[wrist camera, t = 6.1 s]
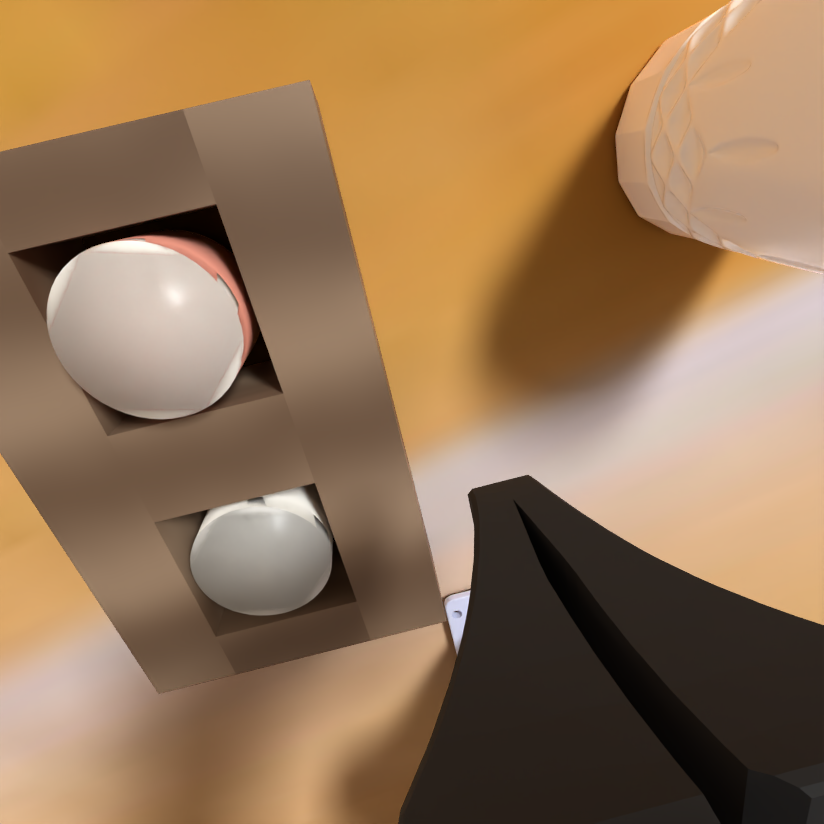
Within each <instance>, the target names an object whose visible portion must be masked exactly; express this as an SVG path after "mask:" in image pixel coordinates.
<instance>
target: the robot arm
mask: <svg viewBox="0 0 824 824" xmlns="http://www.w3.org/2000/svg"><path fill="white" fill-rule="evenodd" d="M468 498H469V503H470V508H471V513H472V518H473V522H474V563H473V572H472V581H471V590H469V591H465V592H461V593H457V594H453V595H450V596H448V597H447V598H446V599H445V601H444V606H445V610H446V614H447V618H448V622H449V626H450V630H451V634H452V638H453V642H454V646H455V650H456V653H457V659H456V662H455V666H454V670H453V673H452V677H451V680H450V684H449V687H448V690H447V693H446V696H445V699H444V701H443V704H442V707H441V710H440V713H439V716H438V719H437V722H436V725H435V728H434V731H433V733H432V736H431V739H430V741H429V744H428V747H427V749H426V752H425V754H424V756H423V759H422V761H421V763H420V766H419V768H418V770H417V773H416V775H415V777H414V780H413V782H412V784H411V787H410V789H409V792H408V794H407V796H406V799H405V801H404V803H403V806H402V808H401V811H400V817H399V822H398V824H824V625H821V624H818V623H815V622H812V621H809V620H806V619H803V618H800V617H797V616H794V615H791V614H788V613H785V612H783V611H780V610H777V609H774V608H771V607H769V606H766V605H763V604H761V603H758V602H756V601H753V600H751V599H748V598H746V597H743V596H741V595H738V594H736V593H733V592H730V591H728V590H725V589H723V588H720V587H718V586H716V585H713V584H711V583H709V582H707V581H704V580H702V579H700V578H697V577H695V576H693V575H691V574H689V573H687V572H685V571H683V570H681V569H679V568H676V567H674V566H672V565H670V564H668V563H666V562H664V561H662V560H660V559H658V558H656V557H654V556H652V555H650V554H648V553H646V552H645V551H643V550H641V549H639V548H638V547H636V546H634V545H632V544H631V543H629V542H627V541H625V540H624V539H622V538H620V537H619V536H617V535H615V534H614V533H612V532H610V531H609V530H607V529H606V528H604V527H603V526H601V525H599V524H598V523H596V522H595V521H593V520H592V519H590V518H589V517H587V516H586V515H584V514H583V513H581V512H580V511H578V510H577V509H575V508H574V507H572V506H571V505H570V504H568V503H567V502H565V501H564V500H563V499H561V498H560V497H558V496H557V495H556V494H554V493H553V492H551V491H550V490H549V489H547V488H546V487H545V486H543V485H542V484H541V483H539V482H538V481H537V480H535V479H534V478H532V477H531V476H529V475H525V476H521V477H517V478H513V479H509V480H505V481H502V482H498V483H494V484H490V485H486V486H482V487H478V488H474V489H472V490H471V491H470V492H469V494H468ZM454 611H458V612H454Z"/></svg>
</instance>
